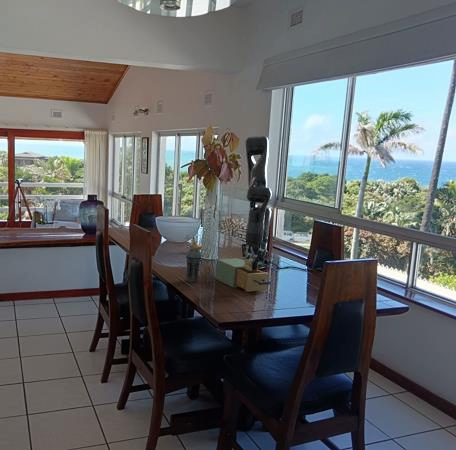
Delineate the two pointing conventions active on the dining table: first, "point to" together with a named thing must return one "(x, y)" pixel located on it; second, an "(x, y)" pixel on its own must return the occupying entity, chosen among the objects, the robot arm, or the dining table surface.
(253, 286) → the drawer
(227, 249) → the dining table surface
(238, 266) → the cabinet
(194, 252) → the beverage cup
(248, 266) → the block
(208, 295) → the dining table surface
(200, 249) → the orange bird figurine
